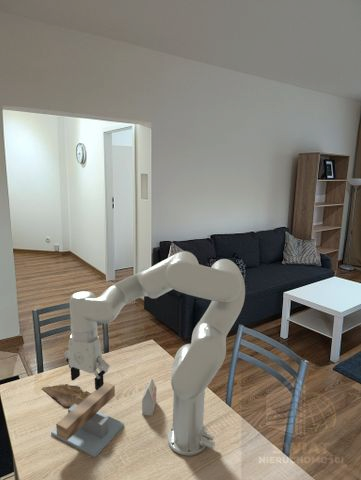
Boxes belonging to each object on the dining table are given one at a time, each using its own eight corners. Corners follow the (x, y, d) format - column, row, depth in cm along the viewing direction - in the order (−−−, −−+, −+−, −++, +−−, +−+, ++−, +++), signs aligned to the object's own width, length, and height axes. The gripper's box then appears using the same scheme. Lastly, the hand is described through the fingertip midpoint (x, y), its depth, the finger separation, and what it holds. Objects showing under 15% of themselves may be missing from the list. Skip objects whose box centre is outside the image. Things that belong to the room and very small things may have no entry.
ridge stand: (123, 425, 108) (123, 409, 107) (95, 457, 96) (94, 440, 95) (82, 407, 116) (82, 392, 115) (51, 434, 104) (50, 418, 103)
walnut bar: (67, 440, 94) (66, 428, 94) (56, 435, 96) (56, 423, 95) (114, 395, 114) (114, 385, 113) (105, 391, 115) (105, 381, 115)
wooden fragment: (107, 398, 121) (107, 396, 121) (87, 418, 111) (87, 415, 111) (55, 379, 132) (55, 376, 131) (33, 395, 122) (32, 393, 122)
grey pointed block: (142, 414, 114) (142, 389, 111) (146, 401, 120) (146, 376, 118) (152, 415, 113) (152, 390, 111) (156, 402, 120) (156, 377, 118)
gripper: (54, 331, 99) (58, 381, 103) (98, 345, 92) (100, 398, 95) (72, 321, 106) (75, 368, 110) (115, 333, 98) (117, 384, 102)
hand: (87, 382), depth 102 cm, fingers open, 9 cm apart
